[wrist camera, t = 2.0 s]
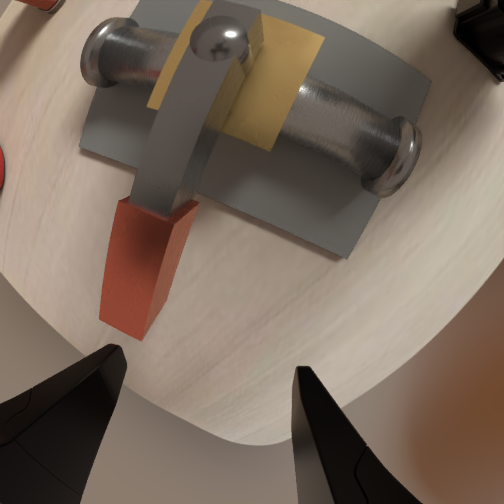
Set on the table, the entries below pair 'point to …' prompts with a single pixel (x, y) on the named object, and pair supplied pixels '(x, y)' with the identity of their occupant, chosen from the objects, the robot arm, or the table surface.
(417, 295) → the table surface
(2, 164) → the beer can
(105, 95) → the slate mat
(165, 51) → the valve body
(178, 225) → the lever
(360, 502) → the robot arm
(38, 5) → the lighter
